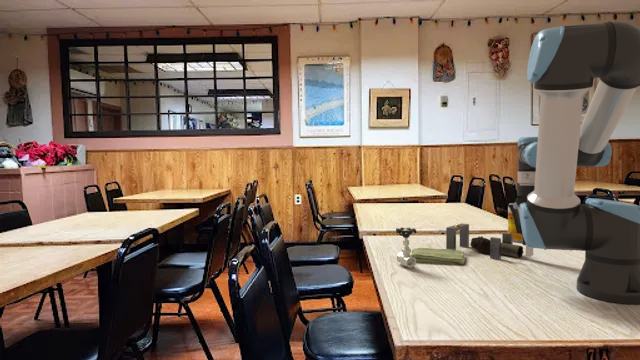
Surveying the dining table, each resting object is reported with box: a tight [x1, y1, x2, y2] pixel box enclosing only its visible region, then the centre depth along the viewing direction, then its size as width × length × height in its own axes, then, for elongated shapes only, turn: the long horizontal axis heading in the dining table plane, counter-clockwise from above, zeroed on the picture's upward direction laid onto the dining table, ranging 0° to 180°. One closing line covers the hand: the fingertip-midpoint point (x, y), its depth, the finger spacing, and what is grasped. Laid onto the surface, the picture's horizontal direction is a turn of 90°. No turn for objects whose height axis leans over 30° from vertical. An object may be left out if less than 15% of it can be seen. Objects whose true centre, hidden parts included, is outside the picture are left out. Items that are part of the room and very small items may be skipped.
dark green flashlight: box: [469, 235, 524, 259], centre depth 143 cm, size 18×7×6 cm, turn 41°
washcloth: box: [410, 247, 466, 266], centre depth 137 cm, size 13×18×3 cm
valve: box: [395, 227, 417, 269], centre depth 129 cm, size 7×7×12 cm
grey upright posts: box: [445, 223, 514, 261], centre depth 145 cm, size 12×19×9 cm, turn 45°
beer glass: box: [507, 202, 523, 243], centre depth 163 cm, size 6×6×15 cm
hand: (529, 255), depth 134 cm, fingers closed
